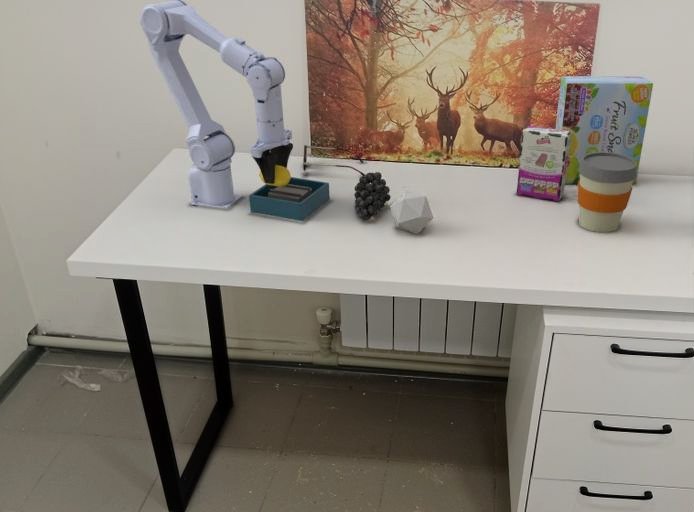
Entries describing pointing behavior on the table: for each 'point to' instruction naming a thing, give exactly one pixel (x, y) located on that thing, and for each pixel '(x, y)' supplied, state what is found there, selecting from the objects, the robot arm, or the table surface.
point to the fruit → (370, 195)
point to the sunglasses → (325, 164)
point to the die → (411, 212)
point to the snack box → (603, 117)
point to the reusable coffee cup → (604, 189)
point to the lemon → (279, 176)
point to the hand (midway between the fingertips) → (275, 179)
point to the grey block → (290, 193)
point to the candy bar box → (543, 162)
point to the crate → (289, 208)
